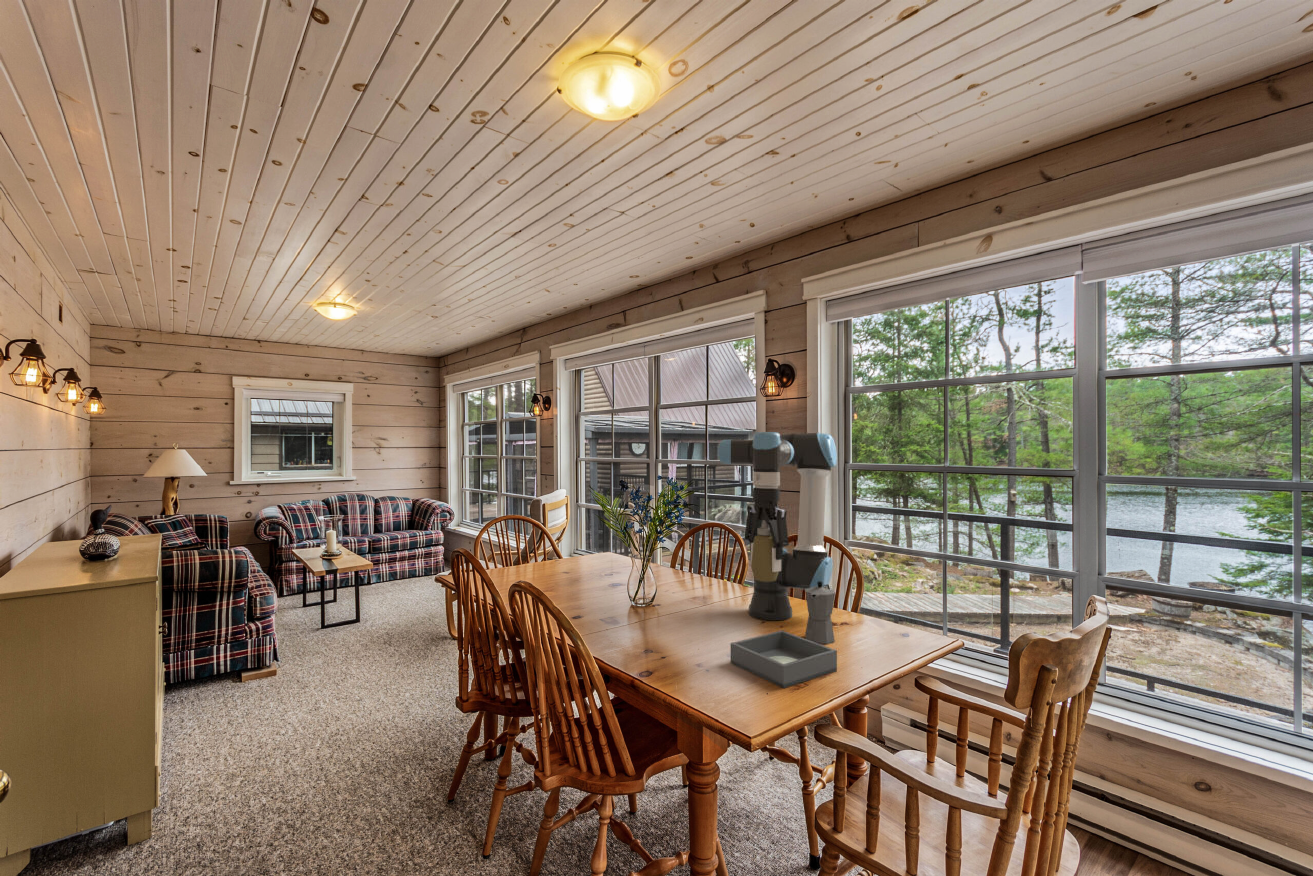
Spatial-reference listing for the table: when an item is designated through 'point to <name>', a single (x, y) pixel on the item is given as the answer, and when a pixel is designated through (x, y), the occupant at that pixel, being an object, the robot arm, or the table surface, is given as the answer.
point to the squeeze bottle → (763, 555)
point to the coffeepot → (820, 614)
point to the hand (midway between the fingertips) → (765, 568)
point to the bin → (783, 658)
